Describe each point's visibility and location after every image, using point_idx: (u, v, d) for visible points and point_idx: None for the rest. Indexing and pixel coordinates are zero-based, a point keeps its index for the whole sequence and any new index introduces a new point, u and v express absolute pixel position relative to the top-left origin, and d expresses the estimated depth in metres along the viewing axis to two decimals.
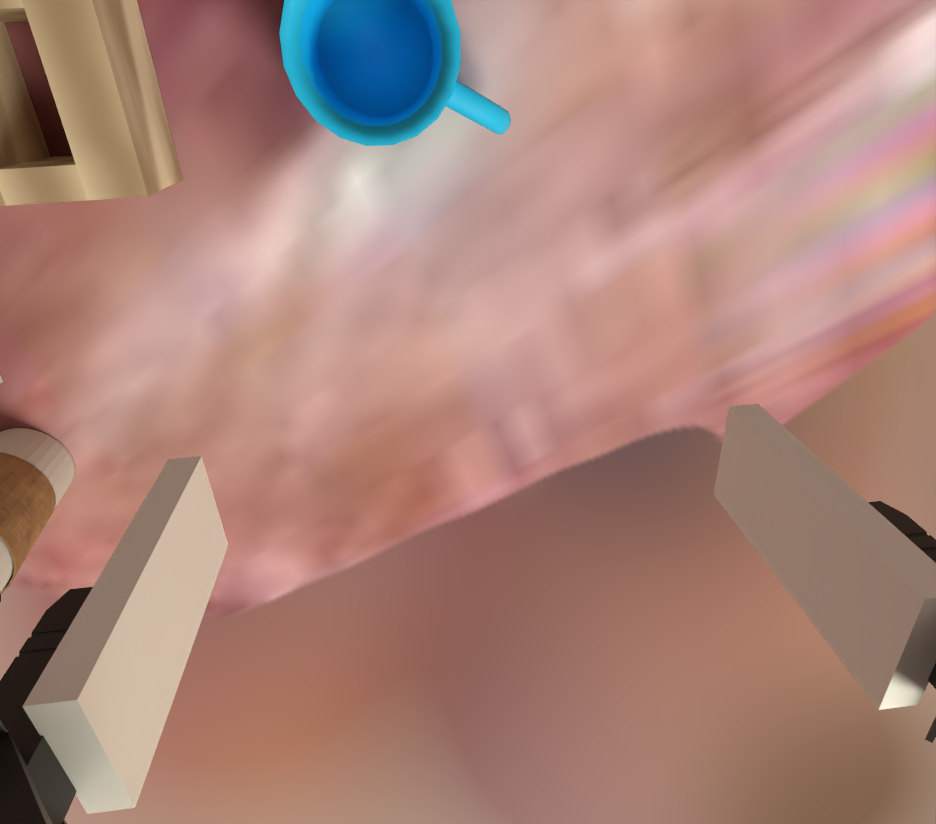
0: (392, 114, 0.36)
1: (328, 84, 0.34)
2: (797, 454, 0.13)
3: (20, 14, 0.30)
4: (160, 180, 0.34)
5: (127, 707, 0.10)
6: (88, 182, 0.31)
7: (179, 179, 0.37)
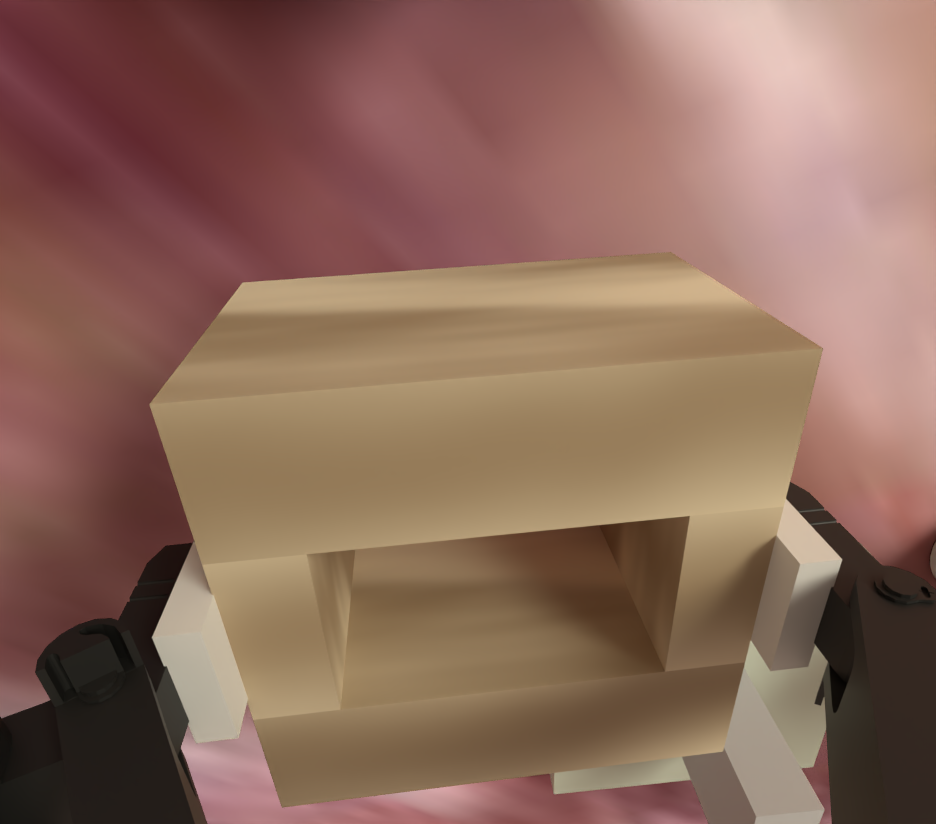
0: None
1: None
2: None
3: None
4: (723, 302, 0.11)
5: None
6: (740, 495, 0.11)
7: (676, 258, 0.14)
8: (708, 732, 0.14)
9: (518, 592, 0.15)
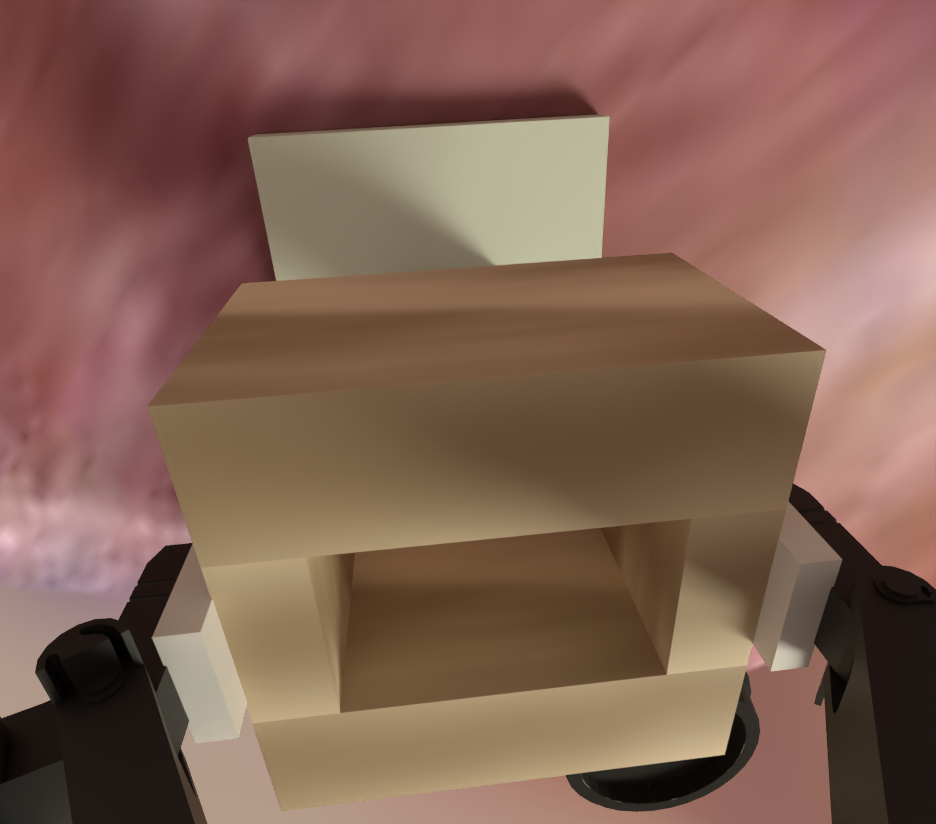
0: None
1: None
2: None
3: None
4: (725, 302, 0.11)
5: None
6: (743, 498, 0.11)
7: (678, 258, 0.14)
8: (710, 735, 0.14)
9: (518, 594, 0.15)
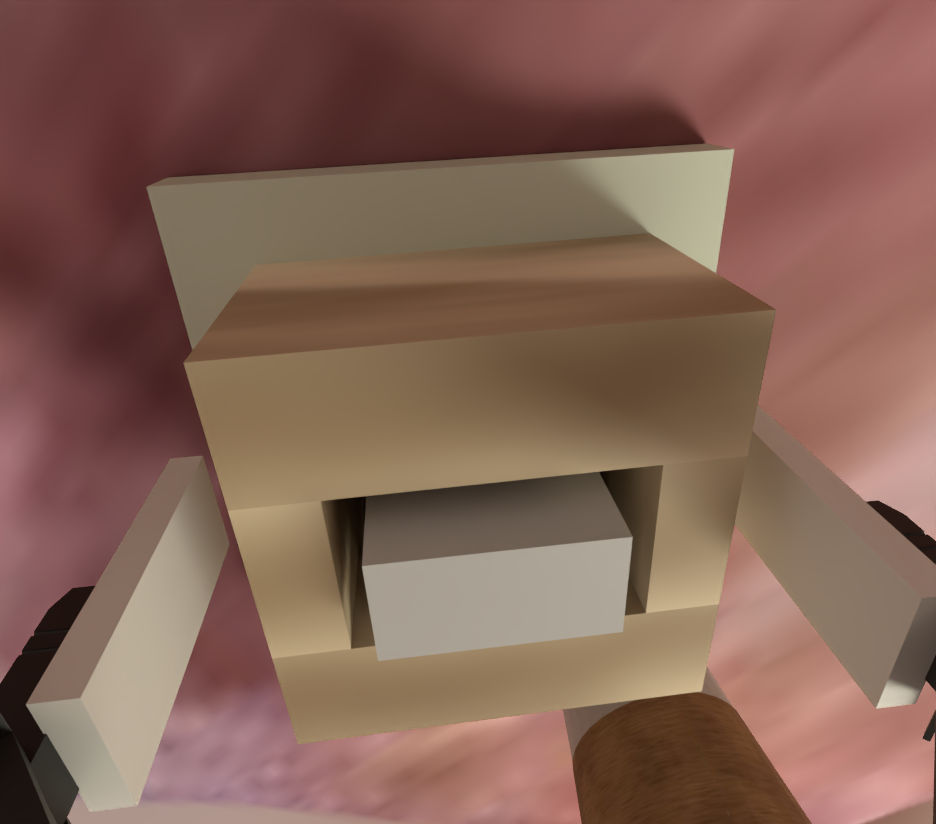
0: None
1: None
2: (795, 453, 0.13)
3: None
4: (693, 273, 0.13)
5: (129, 706, 0.10)
6: (708, 446, 0.12)
7: (655, 238, 0.15)
8: (687, 672, 0.15)
9: None
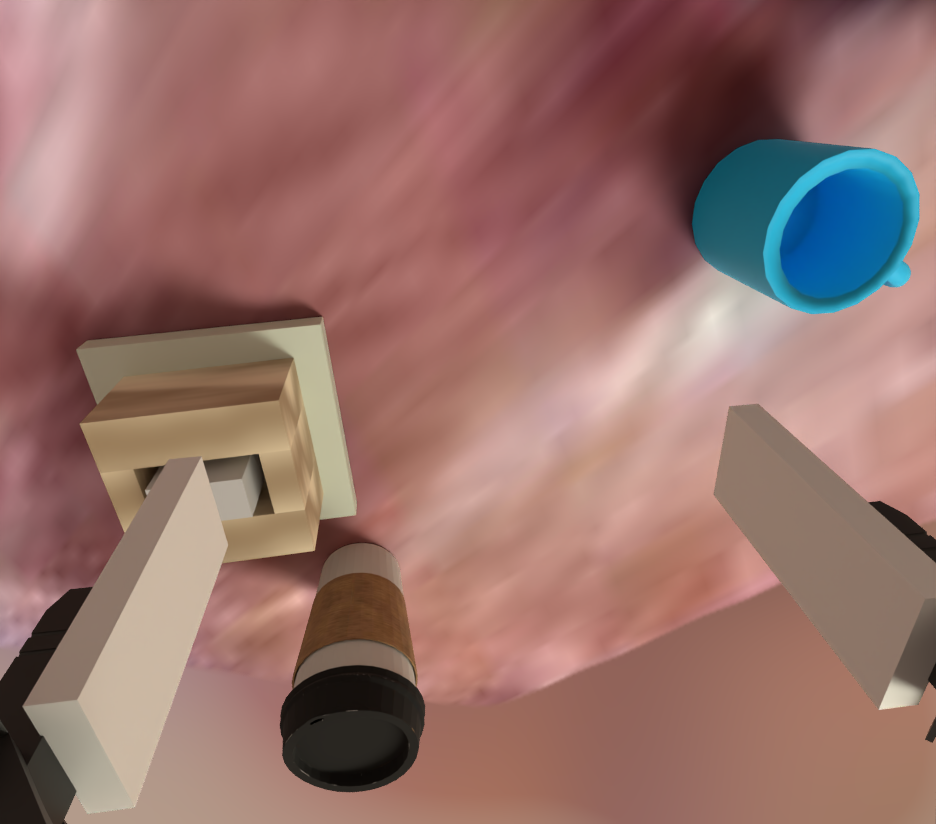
0: None
1: None
2: (797, 454, 0.13)
3: (157, 466, 0.36)
4: (276, 382, 0.34)
5: (127, 707, 0.10)
6: (273, 446, 0.33)
7: (291, 361, 0.37)
8: (304, 541, 0.36)
9: None
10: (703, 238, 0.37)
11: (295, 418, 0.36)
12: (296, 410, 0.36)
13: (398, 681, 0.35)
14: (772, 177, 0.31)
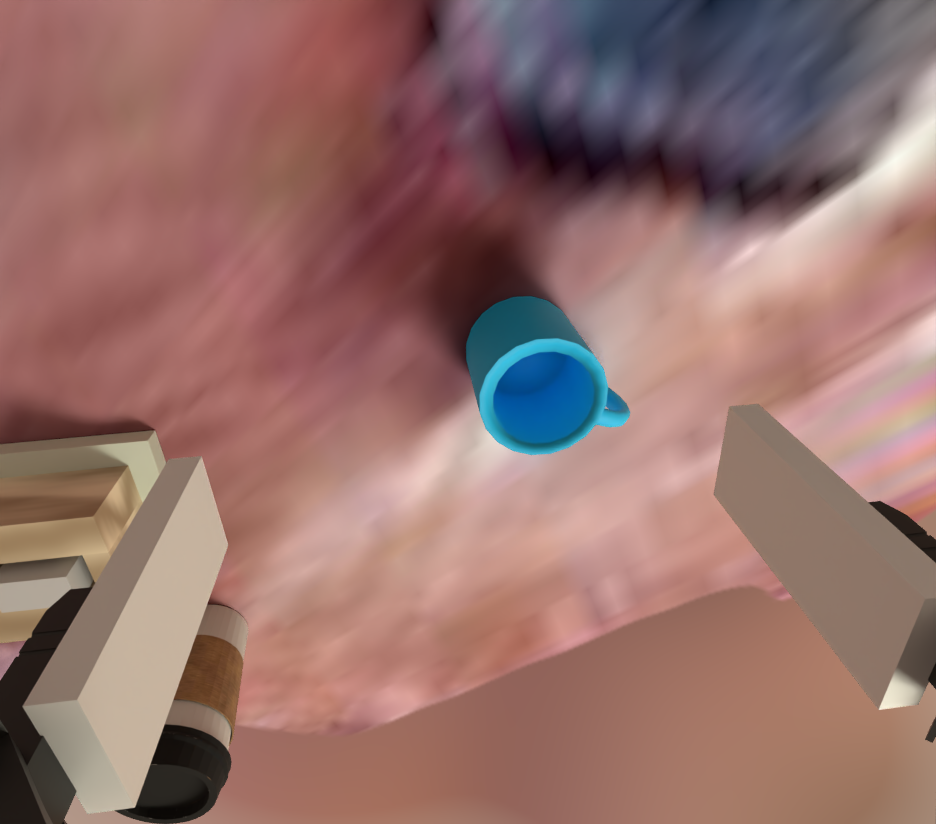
0: (531, 393, 0.46)
1: None
2: (797, 454, 0.13)
3: None
4: (101, 495, 0.42)
5: (127, 707, 0.10)
6: (93, 550, 0.41)
7: (124, 469, 0.45)
8: None
9: None
10: None
11: (122, 520, 0.43)
12: (126, 512, 0.44)
13: (200, 737, 0.43)
14: (491, 349, 0.39)
